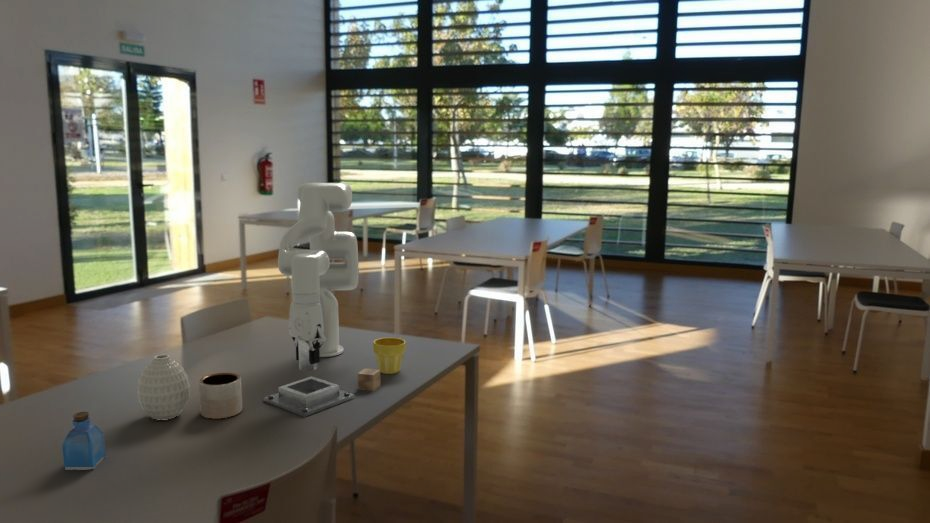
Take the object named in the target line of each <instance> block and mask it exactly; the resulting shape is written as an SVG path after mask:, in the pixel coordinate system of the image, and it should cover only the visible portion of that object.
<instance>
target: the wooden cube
mask: <svg viewBox="0 0 930 523" xmlns="http://www.w3.org/2000/svg"><path fill="white" fill-rule="evenodd" d="M357 386H358V387H357V389H358V390H361V389H364V390H363V391H369V390H370V392H375V391H376V390H377V389H378V388H379V387H381V372H380V370H379V369H376V368H375V369H374V368H367V367H366V368H363V369H362V370H361V371H358V373H357Z"/></svg>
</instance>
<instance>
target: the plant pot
mask: <svg viewBox="0 0 930 523" xmlns="http://www.w3.org/2000/svg"><path fill="white" fill-rule="evenodd" d="M406 344H407V343H406V340H405V339H403V338H399V337H389V336H388V337H387V336H385V337H381V338H376V339H374V340H373V343H372V348H373V350H372V351H373V353H374V354H375V357H376V358H375V359H376V361H377V362H376V363H377V368H378V370H380V374H381V373H382V374H389V375H390V374H391V375H393V374H397V373H398V372H400V370H401V367H402V366H401V365H402V361H403V357H404V354H405V352H406V348H407V347H406Z"/></svg>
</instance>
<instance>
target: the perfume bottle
mask: <svg viewBox="0 0 930 523" xmlns="http://www.w3.org/2000/svg"><path fill="white" fill-rule="evenodd" d="M89 415H90V412H88V411H80V412H76V413H73V414H72V417H73V420H72V426H74V427H73V428H72V429H70V430H69V431H68V433H67V435H66V437H65V439H64V441H63V442H62V444H61V445H62V446H61V447H62V456H63V457H62V459H63V468H64V467H94V466H95V465H96V463H97V462H98V461H99V460H100V459H101V458H102V457H104V456H105V457H106V453H105V452H106V449H105V438H104V432H103V431H102V430H101V428H99V427H98V425H97V424H91V417H90V416H89Z"/></svg>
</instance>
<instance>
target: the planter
mask: <svg viewBox="0 0 930 523" xmlns="http://www.w3.org/2000/svg"><path fill="white" fill-rule="evenodd" d="M198 388H199V389H198V392H199V412H200V415H201V416H202V417H204V418H206V419H209V418H212V419H211V420H222V419H221V418H225V419H229V418H228V417H230V418H232V417H231V416H233V417H235V416H237V415H238V414H240V413H241V412H242V411H243V407H244V406H243V392H242V390H243V389H242V376H241V375H240V374H238V373H235V372H217V373H216V372H215V373H210V374H207V375H204V376H202V377H201V378H200V379H199V380H198Z"/></svg>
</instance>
